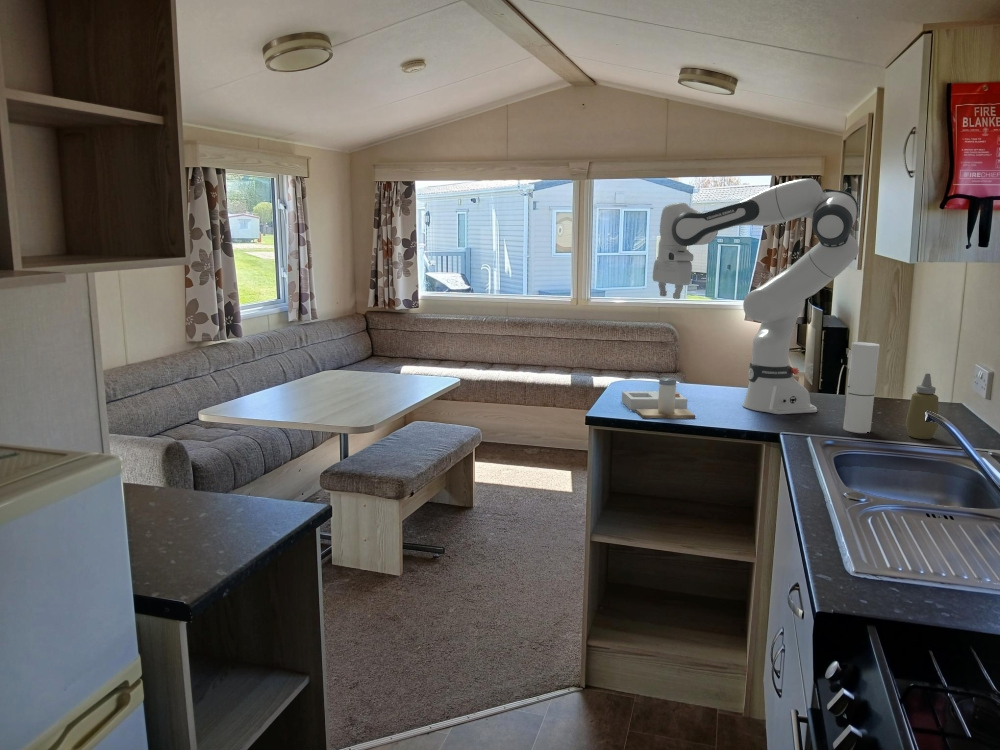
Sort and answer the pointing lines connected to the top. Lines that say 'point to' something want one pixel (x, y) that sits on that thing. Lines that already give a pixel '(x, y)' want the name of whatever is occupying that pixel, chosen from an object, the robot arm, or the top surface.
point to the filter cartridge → (666, 395)
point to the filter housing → (648, 400)
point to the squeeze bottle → (922, 410)
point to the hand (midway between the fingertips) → (669, 297)
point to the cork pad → (655, 414)
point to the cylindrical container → (861, 387)
